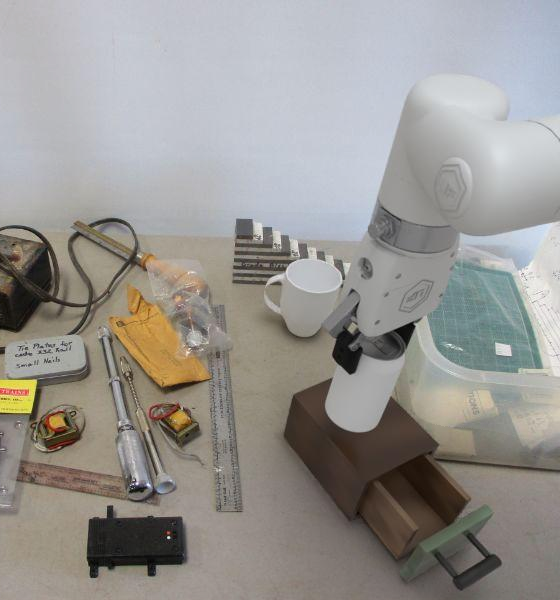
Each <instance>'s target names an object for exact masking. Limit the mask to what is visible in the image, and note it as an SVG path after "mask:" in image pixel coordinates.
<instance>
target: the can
mask: <svg viewBox="0 0 560 600" xmlns="http://www.w3.org/2000/svg"><path fill="white" fill-rule="evenodd" d="M358 330H359V329H358V326H356V327H355V328H354V329H353V331H352V332H351V333H352V334H353V335H354V336H355V334H356V333H357V331H358ZM360 346H361V347H362V348H363V352H362V355H361V358H360V361H359V363H358V366H357V369H356V372H355V373H354V374H351V375H349V374H348V373H347V372H346V371H345V370H344V369H343V368H342V367H341V366H339V365H338V364H337V365H336V368H335V371H334V374H333V376H332V377H333V380H332V383H331V386H330V389H329V392H328V395H327V398H326V402H325V409H326V412H327V414H328V416H329V418H330V419H331V420H332V421H333V422H334V423H335V424H336V425H337V426H339V427H340V428H342V429H344V430H347V431H350V432H367V431H370V430H372V429H373V428H375V427H376V426H377V424H378V423H379V421H380V419H381V416H382V414H383V412H384V410H385V407H386V405H387V403H388V401H389V398H390V396H392V394H393V391H394V390H395V387H396V384H397V382H398V380H399V378H400V376H401V373H402V370H403V368H404V366H405V362H406V354H405V353H406V350H407V349H406V346H405V342H404V340H403V339H402V337H401V336H400V335H399V334H398V333H396V332H395V331H393V330H392V331H389V332H387V333H385V334H382V335H379V336H375V337H366V338H365V340H364V341H363V342H362V344H361V345H360Z"/></svg>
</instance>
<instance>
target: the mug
mask: <svg viewBox="0 0 560 600" xmlns="http://www.w3.org/2000/svg"><path fill="white" fill-rule="evenodd" d="M276 282H280V283H281V294H280V299H279V303H280V304H279V306H278V305H276V304H275V303H273V301H271V299H269V297H268V294H267V292H266V289H267V288H268V286H269V285H271V284H274V283H276ZM342 283H343V276H342V273H341V271H340V270H339V269H338V268H337V267H336V266H335V265H333V264H331V263H330V262H327V261H324V260H321V259H317V258H302V259H301V258H300V259H297V260H295V261H292V262H291V263H290V264H288V266H287V267H286V269H285V271H284V272H283V273H281V274H276V275H273V276H271V277H270V278H269V279H267V282H266V283H265V287H264V291H263V300H264V303H265V304H266V306H267V307H268V308H269V309H270V310H271V311H272V312H273V313H275V314H279V315H280V316H282V318H283V321H284V322H285V324H286V327H287V329H288V331H289V332H290V333H291V334H292V335H294V336H297V337H300V338H309V337H312V336H314V335H315V334H317V332H318V331H319V330H320V329H321V328H322V327H321V324H322V323H323V321H324V320H325V319H326V318H327V317H328V316H329V315H330V314H331V313H332V312H333V311H334V309H335V305H336V303H337V299H338V296H339V293H340V290H341V286H342V285H343V284H342Z"/></svg>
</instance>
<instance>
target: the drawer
mask: <svg viewBox="0 0 560 600" xmlns="http://www.w3.org/2000/svg"><path fill="white" fill-rule="evenodd" d="M471 500H472V496H471V495H470V494H469V493H468V492H467V491H466V490H465V489H464V488H463V487H462V486H461V485H460V484H459V482H457V481H456V480H455V479H454V478H453V477H452V476H451V474H449V473H448V471H446V469H445V468H444V467H443V466H441V464H440V463H439V462H438V461H437V460H436V459H435V458H434V456H433V457H432V456H431V455H430V454H429V453H427V454H425V455H423V456H421V457H419V458H417V459H415V460H413V461H412V462H410V463H408V464H406V465H404V466H402V467H400V468H398V469H396V470H394V471H392V472H390V473H389V474H387V475H385V476H383V477H381V478H379V479H377V480H375V481H373V482H371V483H370V485H369V487H368V489H367V492H366V494H365V496H364V498H363V500H362V503H361V505H360V507H359V509H358V512H359V513H360V514H361V517H362V518H363V519H364V520H365V522H367V524H368V526H369V527H370V528H371V530H372V531H373V532H374V533H375V535H376V536H377V537H378V538H379V539H380V540H381V542H382V543H383V544H384V546H385V548H386V549H388V550H389V552H390V553H391V554H392V556H393V557H394V558H395V559H396V560H399V559H400V558H402V557H404V556H406V555H407V554H409V553H410V552H412V553H411V555H410V556H409V558H408V559H407V562H406V563H405V564H404V566H403V567H402V568H401V571H400V572H399V575H400V576H401V577H402V579H403V580H404V581H405V582H406V583H409V582H410V581H413V580H414V579H415V578H417V577H419V576H421V574H423V573H425V572H427V571H429V569H432V568H433V567H434V566H436V565H438V564H440V565H441V566H442V568H443V569H444V570H445V571H446V572H447V573H448V574H449V576H450V578H452V584H453V585H454V587H455V588H456V589H457V590H458V591H464V590H466V589H467V588H469V587H471V586H472V585H474V584H475V583H477V582H479V581H480V580H482V579H483V578H485V577H486V576H488V575H489V574H491V573H493V572H494V571H496V570H497V569H499V568H500V567H501V566H502V565H503V563H502V560H501V558H500V557H499V556H498V555H497V554H495V553H491V552H490V551H489V550H488V549H487V548H486V547H485V546H484V545H483V544H482V543H481V542H480V540H478V539H477V536H478V534H479V533H480V532H481V531H482V529H483V528H484V527H485V526H486V524H487V523H488V522H489V520H490V519H491V518H492V516H493V515H494V514H495V512H494V510H493V509H491V507H489V505H488V504H486V503H485V504H483V505H482V506H480V507H478V508H476V509H475V510H473V511H471V512H470V513H468V514H466V515H465V516H462V517H461V515H462V513H463V512H464V510H465V509H466V507H467V506H468V505H469V503H470V501H471ZM459 517H461V518H460V519H459ZM471 544H472V546H474V548H475V549H476V550H477V552H479V553H480V554H481V555H482V556H483V557H484V558H483V559H481V560H480V561H479V562H477V563H475V564H474V565H472V566H470V567H468V568H467V569H466V570H464V571H463V572H461V573H459V572H457V570H456V569H455V568H454V567H453V566H452V565H451V564H450V562H449V561H448V560H447V559H448V558H449V557H451V556H454V554H456V553H458V552H459V551H461V550H462V549H464V548H466V547H467V546H469V545H471Z"/></svg>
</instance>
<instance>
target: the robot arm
mask: <svg viewBox="0 0 560 600" xmlns="http://www.w3.org/2000/svg"><path fill="white" fill-rule="evenodd" d="M510 107H511V106H510V100H509V98H508V95H507V93H506V92H505V91H504V90H503V89H502V88H501V87H499V86H498V85H497V84H495V83H493V82H491V81H488V80H486V79H483V78H481V77H478V76H473V75H469V74H461V73H439V74H432V75H429V76H426V77H425V78H422V79H420V80H418V81H417V82H416V83H415V84H414V85H413V86H412V87H411V88H410V90H409V91H408V94H407V95H406V98H405V100H404V102H403V107H402V110H401V112H400V113H401V114H400V117H399V122H398V123H397V128H396V131H395V134H394V137H393V141H392V145H391V148H390V152H389V155H388V157H387V162H386V165H385V168H384V172H383V175H382V179H381V181H380V185H379V186H380V187H379V190H378V194H377V196H376V200H375V204H374V207H373V211H372V214H371V217H370V221H369V224H368V226H367V230H366V231H365V233H364V235H363V237H362V239H361V241H360V243H359V245H358V247H357V249H356V251H355V253H354V256H353V259H352V261H351V263H350V266H349V268H348V271H347V273H346V276H345V279H344V282H343V284H342V289H341V292H340V295H339V301H338V306H337V307H336V308H334V309H333V311H332V313H331V314H330V315H329V316H328V317H327V318H326V319H325V320H324V321H323V323H322V324H321V328H322V329H323V330H324V331H325V332H326V333H327V334H328V335H329V336H331V337H332V338H333V339H335V343H334V345H333V349H332V353H331V357H332V359H333V360H334V362H335V363H336V364H337V365H339V366H341V367H342V368H343V369H344V370H345V371H346V372H347V373H348V374H349V375H351V374H354V373H355V372H356V369H357V366H358V363H359V361H360V358H361V355H362V352H363V348H362V347H361V346H360V345H361V344H362V342H363V341H364V340H365V338H366V337H375V336H379V335H382V334H385V333H387V332H389V331H392V330H393V331H395V332H396V333H398V334H399V335H400V336H401V337H402V339H403V340H404V342H405V346H406V350H407V349H408V346H409V344H410V341H411V339H412V337H413V334H414V332H415V329H416V327H417V325H416V324H419V323H420V322H421V321H422V320H423V318H424V317H425V316H427V315H429V314H432V313H433V312H434V311H436V309H438V307H439V306H440V304H441V303H442V299H443V298H444V294H445V292H446V290H447V287H448V284H449V281H450V278H451V276H452V273H453V269H454V267H455V263H456V260H457V256H458V252H459V246H460V241H461V234H462V235H465V236H471V237H490V236H496V235H502V234H507V233H511V232H515V231H516V232H517V231H520V230H524V229H529V228H534V227H537V226H543V225H547V224H553V223H558V222H560V113H559V114H558V113H557V114H553V115H547V116H540V117H534V118H528V119H523V120H508V118H509V114H510V109H511V108H510ZM352 323H354V324H355V325H356V327H358V329H359V330H358V331H357V333H356V334H355V336H354V335H353V334H352V333H353V332H351V331H350V330H349V328H350V327H351V325H352Z"/></svg>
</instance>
